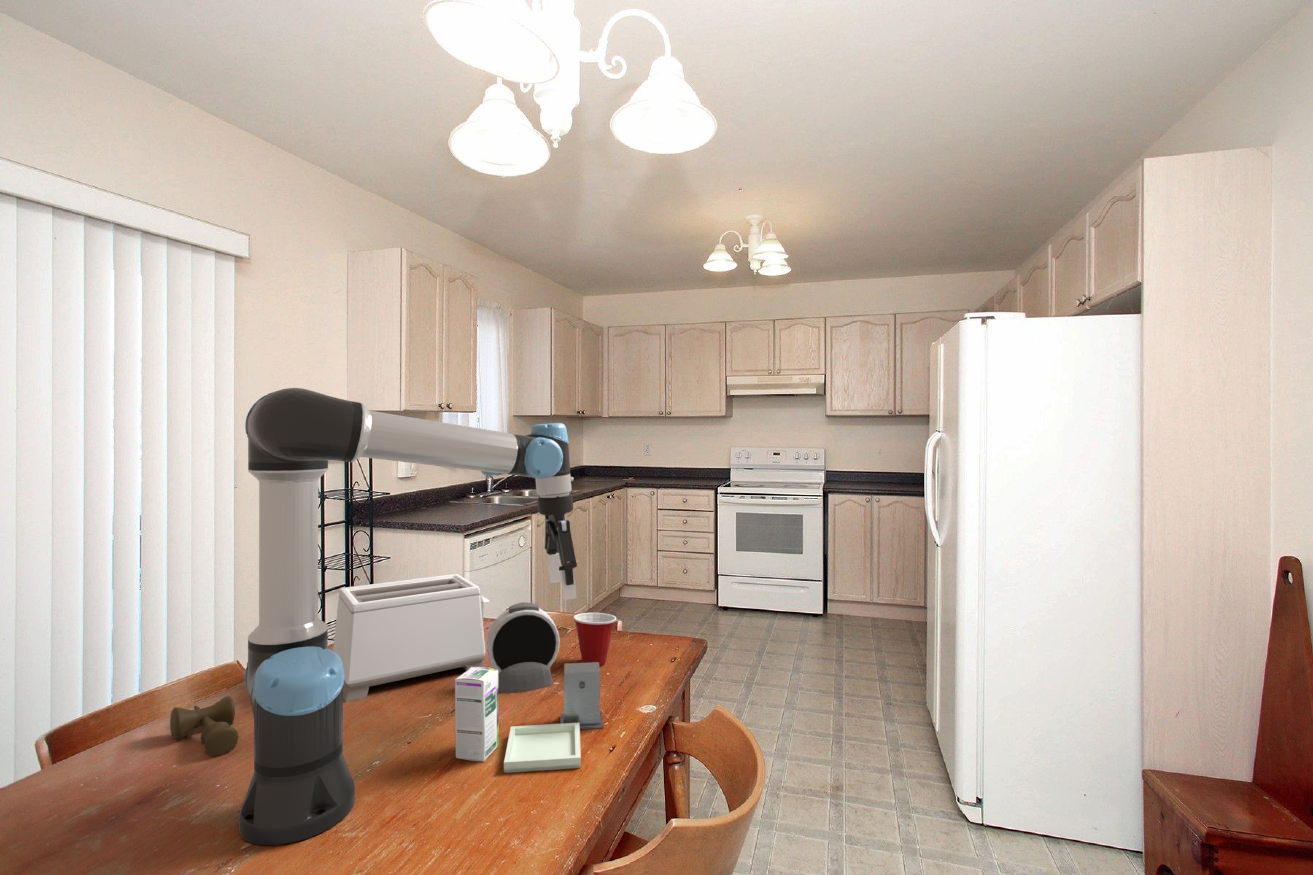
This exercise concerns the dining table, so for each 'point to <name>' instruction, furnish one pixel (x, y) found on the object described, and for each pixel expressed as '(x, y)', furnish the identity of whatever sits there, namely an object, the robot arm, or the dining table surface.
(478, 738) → the syrup box
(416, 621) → the toaster
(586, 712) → the gray phone stand
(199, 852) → the dining table surface
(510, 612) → the alarm clock
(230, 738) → the kendama
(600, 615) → the plastic cup
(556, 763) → the tray
